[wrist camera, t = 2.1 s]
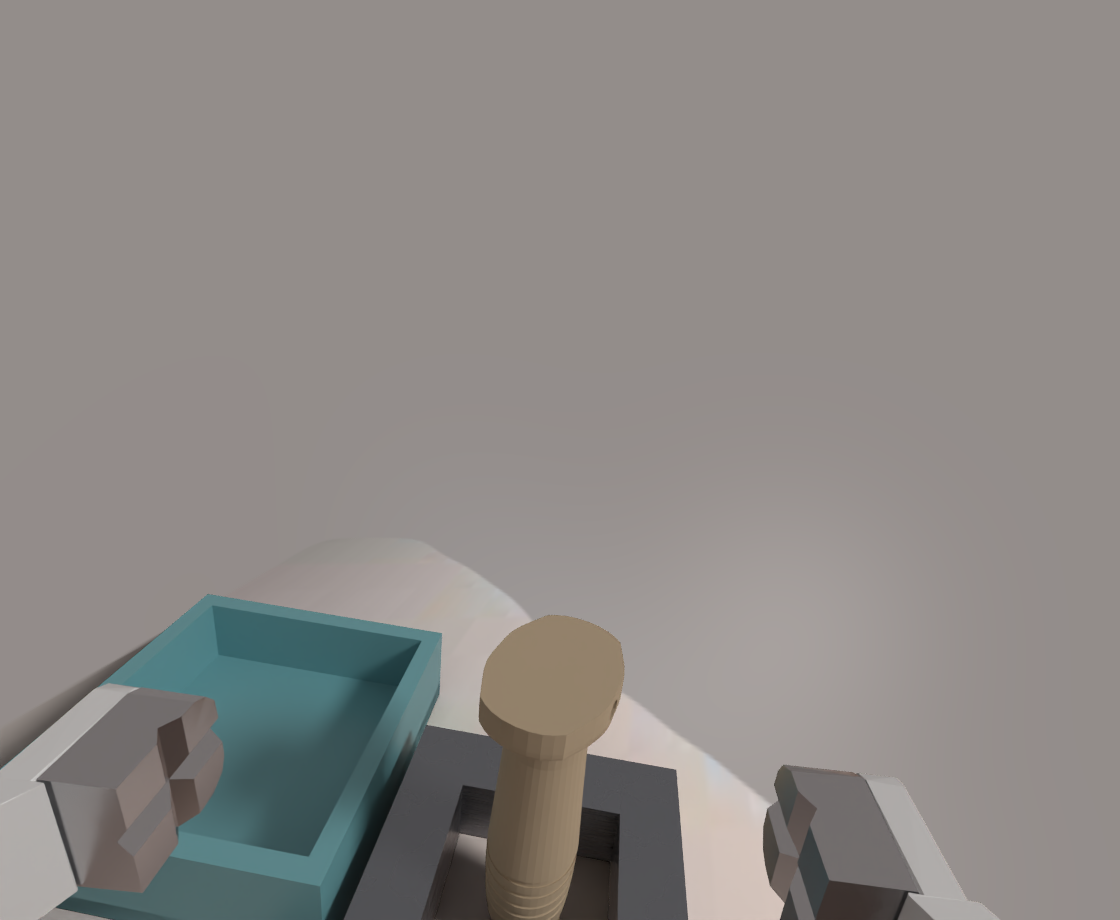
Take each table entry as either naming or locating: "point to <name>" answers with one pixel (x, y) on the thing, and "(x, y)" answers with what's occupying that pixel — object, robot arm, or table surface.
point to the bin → (282, 758)
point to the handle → (543, 756)
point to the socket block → (465, 807)
